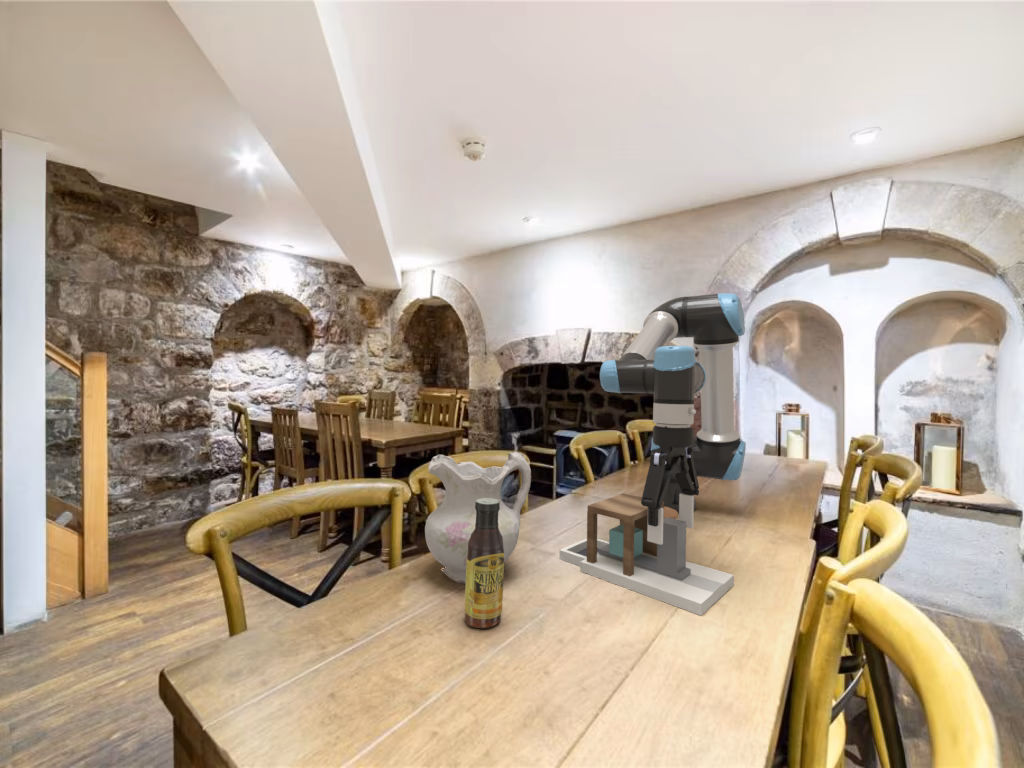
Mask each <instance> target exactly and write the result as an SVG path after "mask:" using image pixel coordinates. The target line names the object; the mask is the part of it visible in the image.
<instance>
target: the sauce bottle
mask: <svg viewBox="0 0 1024 768" xmlns="http://www.w3.org/2000/svg"><path fill="white" fill-rule="evenodd" d="M475 509H476V523H475V530H474V531H473V532H472V534H471V537H470V539H469V542H468V555H467V563H466V584H465V588H464V589H465V591H464V612H465V613H464V616H465V617H464V619H465V623H467V625H469V626H470V627H473V628H476V629H489V628H492V627H494V626H496V625H497V624H499V623H500V621H501V617H502V612H503V601H504V600H503V597H504V570H505V568H504V567H505V562H504V547H503V538H502V535H501V533H500V531H499V528H498V511H499V509H500V501H499V500H497V499H493V498H481V499H477V500H476V503H475Z"/></svg>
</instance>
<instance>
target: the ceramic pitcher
mask: <svg viewBox="0 0 1024 768" xmlns="http://www.w3.org/2000/svg"><path fill="white" fill-rule="evenodd" d="M506 455H507V456H508V458H507V460H506V462H505V463H504V465H502V467H501V466H495V465H494V466H490V467H484V468H483V467H482V466H480V465H479V464H477V463H476V462H474V461H461V462H458V463H457V462H456V460H455V459H454V458H453V457H451V456H448V455H447V456H446V455H444V454H437V455H435V456H433V457H432V458H431V461H429V463H428V466H427V467H428V469H427V470H428V473H429V474H431V475H432V476H435V477H437V478H438V479H439V480H440V481H441V482H442V484H443V486H444V488H445V496H444V500H443V501H442V503H441V504H440V505H439V506H438V507H436V508H435V509H434V510H433V511H432V512H431V513H430V514H429V515H428V516H427V518H426V521H425V526H424V538H425V542H426V546H427V547H428V550H429V552H430V553H431V555H432V556H433V559H435V560H436V561H437V562H438V563H439V564H441V565H442V566H443V567H446V568H444V569H442V570H443V572H442V573H443V574H444V575H445V576H446V577H448V579H451V580H452V581H453V582H456V583H459V584H464V585H466V563H467V555H468V542H469V539H470V537H471V534H472V532H473V531H474V530H475V523H476V509H475V503H476V500H477V499H481V498H493V499H497V500H499V501H500V509H499V511H498V528H499V531H500V533H501V535H502V538H503V547H504V563H505V562H506V561H507V560H508V559H509V557H510V556H511V555H512V553H513V552H514V551H515V548H516V547H517V544H518V540H519V535H520V526H521V510H522V508H523V506H525V503H526V501H527V498H528V494H529V491H530V488H531V483H532V482H531V481H532V475H531V474H532V470H531V467H530V466H531V465H530V463H528V461H527V460H526V459H525V454H522V452H521V451H518V450H516V451H510V452H509V453H507V454H506ZM516 470H519V472H520V480H521V484H520V488H519V490H518V492H517V495H516V497H515V501H514V504H513V507H512V508H510V507H508V506H507V505H506V504H505V503H504V502H503V500H502V497H501V489H502V487H503V481H504V480H505V478H506V477H507V476H508V475H509V474H510V473H512V472H513V471H516Z"/></svg>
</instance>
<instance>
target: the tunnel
mask: <svg viewBox="0 0 1024 768" xmlns="http://www.w3.org/2000/svg"><path fill="white" fill-rule="evenodd" d="M641 499H642V496H639V495H638V496H636V495H631V494H627V493H621V494H617V495H614V496H612V497H608V498H606V499H603V500H600V501H597V502H593V503H591V504H589V505H587V511H586V512H587V513H586V538H587V562H589V563H592V564H593V563H595V562H597V539H598V515H600V516H604V517H608V518H612V519H616V520H619V525H621V524H623V525H624V532H623V574H624V575H627V576H629V577H630V576H632V575H633V574H634V528H638V529H642V530H643V553H646V554H649V555H653V556H656V557H657V544H656V543H653V542H649V541H647V530H648V507H647V506H643V505H642V504H641ZM661 508H664V502H662V505H661ZM663 519H664V509H663Z"/></svg>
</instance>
